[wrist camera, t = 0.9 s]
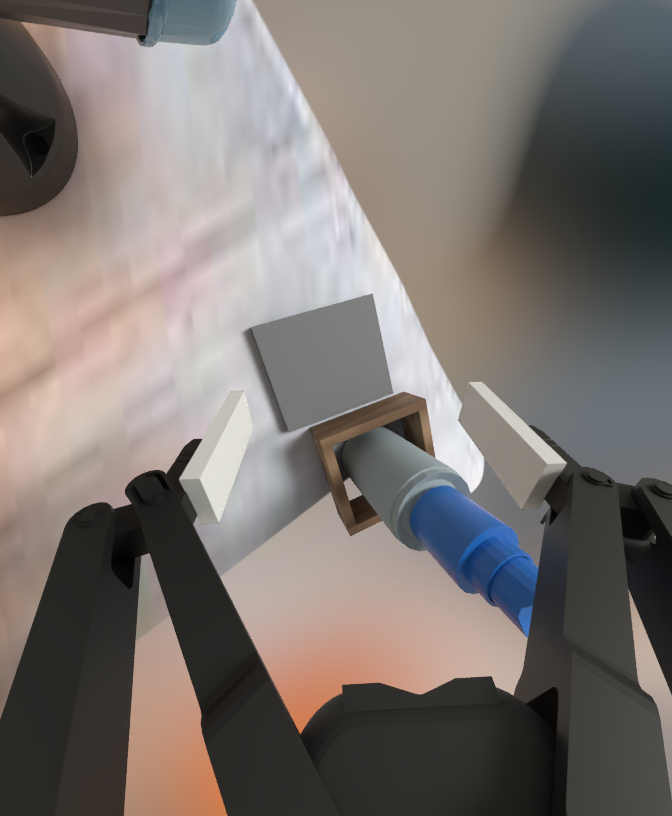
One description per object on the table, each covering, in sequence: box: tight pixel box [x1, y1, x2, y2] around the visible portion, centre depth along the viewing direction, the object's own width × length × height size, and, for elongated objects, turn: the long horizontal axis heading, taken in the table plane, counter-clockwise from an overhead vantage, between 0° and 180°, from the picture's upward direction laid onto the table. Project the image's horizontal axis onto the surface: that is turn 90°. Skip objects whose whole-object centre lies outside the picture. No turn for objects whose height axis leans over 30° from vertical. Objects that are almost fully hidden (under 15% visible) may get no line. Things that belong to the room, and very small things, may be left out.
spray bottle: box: [342, 426, 539, 637], centre depth 28 cm, size 9×9×25 cm
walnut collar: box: [310, 392, 435, 536], centre depth 37 cm, size 14×14×5 cm
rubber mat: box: [251, 294, 393, 432], centre depth 33 cm, size 13×15×1 cm
